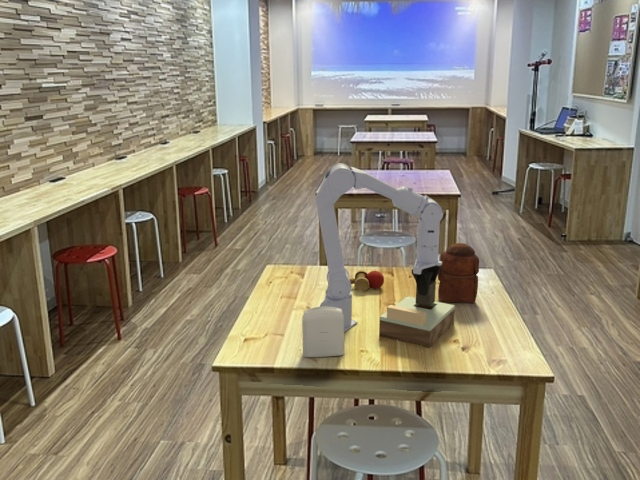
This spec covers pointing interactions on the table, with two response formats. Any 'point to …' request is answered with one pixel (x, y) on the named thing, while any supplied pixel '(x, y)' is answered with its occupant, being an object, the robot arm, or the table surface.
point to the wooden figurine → (458, 274)
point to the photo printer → (323, 332)
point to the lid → (416, 314)
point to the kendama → (367, 280)
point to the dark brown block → (429, 297)
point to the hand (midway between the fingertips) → (425, 292)
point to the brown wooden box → (416, 331)
